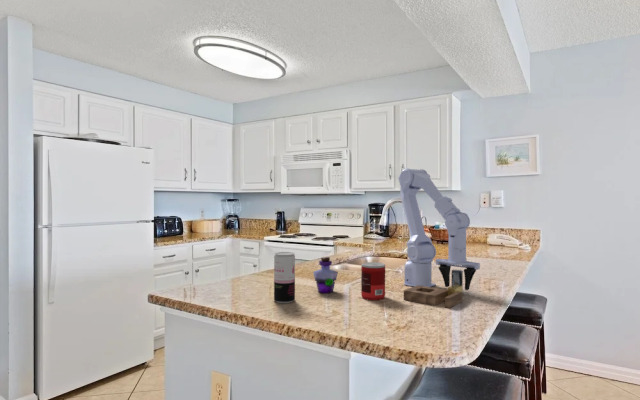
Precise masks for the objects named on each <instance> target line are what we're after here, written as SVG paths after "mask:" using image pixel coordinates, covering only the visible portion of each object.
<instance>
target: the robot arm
mask: <svg viewBox="0 0 640 400" xmlns="http://www.w3.org/2000/svg"><path fill="white" fill-rule="evenodd" d="M398 182H399V185H400V191H399V193H400V199H401V202H402V207H403V211H404V215H405V218H406V219H405V220H406V223H407V227H408V230H409V231H408V232H409V235H410V238H409V240H408V241H407V242H406V244H407V245H406V247H407V257H408V259H409V260H407V261H406V262H405V263H404V264H405V266H404V283H403V285H404V286H410V287H415V286H417V285H419V286H426V287H432V288H433V287H434V286H437V284H436V283H434V282H432V275H433V274H432V272H433V271H432V267H433V266H432V265H433V264H432V263H433V260H434V259H435V257H436V255H437V250H436V246H434V244H433V242H432V239H431V238H430V237H429V236H428V235H427V234H426V231H425V227H424V223H423V219H422V215H421V211H420V209H419V203H418V199H417V193H419V192H420V190H423V191H424V192H425V193H426V194H427V195H428V196H429V197H430V198H431V200H432V201H433V202H434V208H435V209H436V211H437V212H438V213H439V214H440V215H441V217H442V218H443V219H444V225H445V228H446V229H447V234H448V251H447V252H448V259H447V258H436V259H435V265H436V266H438V270H439V272H440V274H441V277H442V279H443V284H444V287H445V288H448V287H450V283H451V279H450V275H451V267H455V268H463V276H464V290H465V291H469V290H470V286H471V282H472V281H473V277H474V276H475V273H476V272H477V270H480V269H481V263H480V262H476V261H475V262H474V261H469V260H467V229H468V228H469V226H470V224H471V222H470V221H471V220H470V217H469V215H468V214H467V213H466V212H462V211H461V210H460V208H458V207H457V206H456V205H455V204H454V202H453V199H452V198H451V197H448V196H443V194H442V193H441V191H440V190H439V189H438V187H437V186H436V184H435V183H434V182H433V181H432V179H431V175H430V174H429V173H428V172H427V171H426V169H423V168H422V169H421V168H420V169H417V168H416V169H415V168H407V167H406V168H403V169H402V170H401V172H400V174H399V176H398Z"/></svg>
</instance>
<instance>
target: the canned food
mask: <svg viewBox="0 0 640 400" xmlns="http://www.w3.org/2000/svg"><path fill="white" fill-rule="evenodd" d="M360 267H361V269H360V270H361V275H360V276H361V277H360V278H361V281H360V283H361V287H360V288H361V290H360V291H361V292H360V293H361V298H362V299H363V298H364V299H363V300H366V299H368V300H367V301H381V300H380V299H382V300H383V299H385V297H386V264H385V263H383V262H377V261H376V262H375V261H374V262H371V261H369V262H363V263H361V266H360Z"/></svg>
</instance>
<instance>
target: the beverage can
mask: <svg viewBox="0 0 640 400" xmlns="http://www.w3.org/2000/svg"><path fill="white" fill-rule="evenodd" d="M273 259H274V260H273V262H274V263H273V265H274V266H273V283H274V284H273V300H274V302H276V303H278V304H288V303H290V304H291V303H293V302H294V301H295V300H296V255H295V252H289V251H283V252H282V251H281V252H275V253H274V256H273Z"/></svg>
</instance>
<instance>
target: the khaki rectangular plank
mask: <svg viewBox="0 0 640 400" xmlns="http://www.w3.org/2000/svg"><path fill="white" fill-rule="evenodd" d="M447 290H448V296H449V295H451V294H454V293H456V292H462V285H453V286H452V285H451V286H449V287H447Z"/></svg>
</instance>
